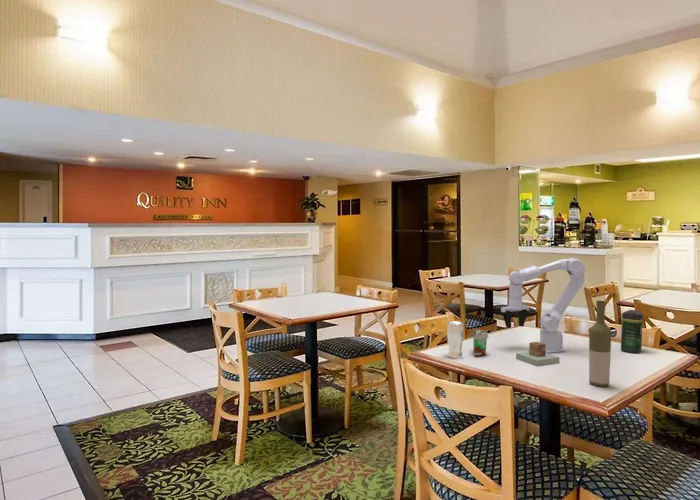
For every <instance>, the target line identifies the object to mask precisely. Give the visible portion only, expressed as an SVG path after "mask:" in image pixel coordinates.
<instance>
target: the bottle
mask: <svg viewBox="0 0 700 500" xmlns="http://www.w3.org/2000/svg"><path fill="white" fill-rule="evenodd" d="M605 313H606V301H605V300H596V321H595V323H594V324H592V325H591V327H589V330H588V339H589V340H588V343H589V344H588V348H589V349H588V359H589V360H588V367H589V368H588V377H589V378H588V380H589V381H588V382H589V384H591V385H593V386H597V387H607V386H608V387H609V385H610V376H611V372H610V371H611V352H612V351H611V348H612V347H611V346H612V329H611V328H610V327H609V326H608V325H607V323H606V321H605V318H606V317H605V316H606V314H605Z"/></svg>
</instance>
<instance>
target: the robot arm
mask: <svg viewBox="0 0 700 500" xmlns="http://www.w3.org/2000/svg"><path fill="white" fill-rule="evenodd" d="M556 270H562V271H563V270H564V271H566V272H567V274H568V276H569V279H570V281H569V283H568V284H567V285H566V287H565V288H564V290H563V291H562V292H561V294H560V295H559V297H558V298H557V300H556V301H555V303H554V304H553V306H552V307H551V309H549V310H548V311H547V312H546V314H544V315H542V316H541V317H540V319H539V324H540V326H541V328H540V329H539V334H540V335H539V336H540V337H539V342H540V343H544V344H546V352H545V353H548V354H552V353H553V354H554V353H559V352H565V349H564V347H563V345H564V344H563V343H564V337H563V334H562V331H559V330H558V329H559V323H560V322H561V321H562V317H563V315H564V313H565V311H566V310H567V308H568V307H569V305H570V304H571V302H572V301H573V300H574V298H575V297H576V295H577V294H578V292H579V291H580V289H581V288H582V286H583V285H584V283H585V271H586V267H585V264H584V262H583V260H581V259H580V258H575V257H567V258H563V259H559V260H556V261H553V262H550V263H547V264H544V265H542V266H539V267H538V266H536V265H528V267H525V268H522V269H521V268H519V269H518V271H517V270H514V271H511V273H509V275H508V280H509V287H508V290H509V291H508V305H507V306H503V307H501V308H500V313H501V315H502V317H503V321H504V324H505V327H506V328H508V329H510V328H511V326H512V325H511V324H512V323H511V322H512V318H513V314H514V313H513V312H517V315H518V326H519V327H524V325H525V322H526V320H527V317H528V316H529V314H530V306H528V305H523V283H524V282H529V281H532V280H536V279H539V277H540V276H541V274H545V273H550V272H552V271H556Z"/></svg>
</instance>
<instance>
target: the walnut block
mask: <svg viewBox="0 0 700 500" xmlns="http://www.w3.org/2000/svg"><path fill="white" fill-rule="evenodd" d="M528 349H529V351H528V352H529V354H530V355H533V356H536V357H541V356H545V353H546V344H544V343H540V341H533V342H529V348H528Z"/></svg>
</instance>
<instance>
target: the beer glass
mask: <svg viewBox="0 0 700 500" xmlns="http://www.w3.org/2000/svg"><path fill="white" fill-rule="evenodd" d="M446 330H447V331H446V333H447V334H446V335H447V342H448V354H447V356H448V357H449V358H450V359H461V358H463V352H462V347H463V341H464V322H462V321H459V320H456V321H455V320H454V321H453V320H450V321H447V329H446Z"/></svg>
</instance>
